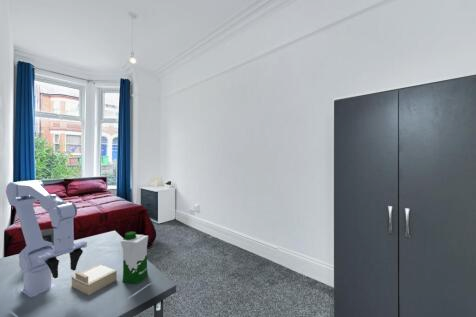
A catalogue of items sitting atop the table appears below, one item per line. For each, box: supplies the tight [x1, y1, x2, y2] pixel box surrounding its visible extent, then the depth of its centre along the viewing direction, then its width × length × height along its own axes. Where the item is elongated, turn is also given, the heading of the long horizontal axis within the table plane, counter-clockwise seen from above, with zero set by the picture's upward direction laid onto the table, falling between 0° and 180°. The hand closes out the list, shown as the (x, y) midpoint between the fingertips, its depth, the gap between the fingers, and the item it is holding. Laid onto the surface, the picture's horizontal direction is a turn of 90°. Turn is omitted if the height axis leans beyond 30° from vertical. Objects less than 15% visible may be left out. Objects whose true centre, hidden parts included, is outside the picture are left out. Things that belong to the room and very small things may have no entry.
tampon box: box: [29, 227, 54, 254], centre depth 108 cm, size 11×9×15 cm
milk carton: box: [120, 231, 149, 285], centre depth 92 cm, size 9×9×20 cm
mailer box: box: [71, 263, 118, 296], centre depth 89 cm, size 12×11×5 cm
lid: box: [73, 264, 116, 285], centre depth 89 cm, size 10×11×3 cm
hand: (64, 273), depth 79 cm, fingers open, 5 cm apart
